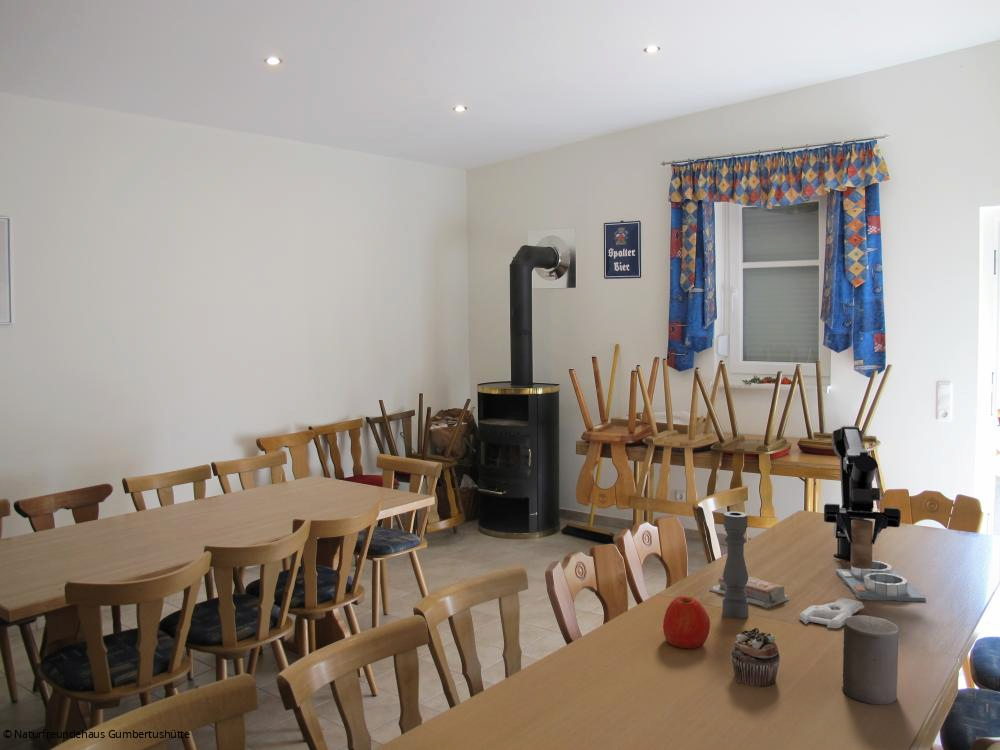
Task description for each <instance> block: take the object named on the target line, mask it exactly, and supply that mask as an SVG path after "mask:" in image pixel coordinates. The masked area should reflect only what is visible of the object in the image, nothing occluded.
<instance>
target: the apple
mask: <svg viewBox="0 0 1000 750" xmlns="http://www.w3.org/2000/svg"><path fill="white" fill-rule="evenodd" d="M662 628H663V629H662V630H663V631H662V632H663V635H664V637H665V640H666V641H667V642H668V643H669V644H670V645H671V646H674V647H678V648H682V649H695V648H699V647H700V646H703V645H704V644H705V642H706V641H707V639H708V637H709V634H710V629H711V620H710V617H709V614H708V612H707V611H706V609H705V607H704V606H703V604H701V602H700V601H699V600H697V599H696V598H693V597H689V596H677V597H676V598H673V599H672V600H671V602H670V603H669V604H668V606H667V608H666V610H665V614H664V616H663V623H662Z"/></svg>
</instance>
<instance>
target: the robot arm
mask: <svg viewBox="0 0 1000 750" xmlns="http://www.w3.org/2000/svg"><path fill="white" fill-rule="evenodd" d="M830 439H831V441H830V443H831V446H833V451H834V452H833V453H834V454H835V455H836V457H837V459H839V470H840V473H839V474H840V492H841V493H840V494H841V506H840V503H828V502H827V503H825V504H824V506H823V522H825V523H830V524H831V523H833V536H834V537H835V539H836V540H837V543H836V544H837V547H836V548H837V552H836V553H833V557H837V558H839V559H841V560H842V559H843V560H846V561H848V562H849V561H850V562H851V520H853V519H865V520H874V523H873V540H872V545H875V544H876V541H877V539H878V537H879V535H880V533H881V532H882V530H886V529H888V528H899V527H900V525H901V518H902V517H901V516H902V514H901V509H899V507H888V506H887V507H886V506H884V507H883V511H874V508H875V506H874V504H875V503H874V502H875V501H876V502H879V501H880V499H881V488H879V487H873V481H874V479H875V476H876V475H875V474H876V471H877V469H878V468H879V466H878V465H879V464H878V462H877V460H876V459H875V458H874V457H872V455H871V453H870V452H869V450H867V449H864V446H863V442H864V441H863V439H864V438H863V431H862V430H860V427H859V426H857V425H843V426H841V427H840V428H838V429H835V430H833V431H832V433H831V438H830Z"/></svg>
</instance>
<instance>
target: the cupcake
mask: <svg viewBox="0 0 1000 750" xmlns="http://www.w3.org/2000/svg"><path fill="white" fill-rule="evenodd" d="M736 639H737V640H735V641H734V646H733V648H732V649H731V650H730V655H729V656H730V657H731V662H732V667H733V673H734V679H736V681H737V682H738V683H742V684H744V685H746V686H749V687H755V688H766V687H767V688H768V687H770V686H772V685H774V684H775V683H776V680H777V675H778V670H779V665H780V662H781V657H780V651H779V648H778V645H777V643H776V642H775V641H776V638H775V635H774V634H771V633H770V632H769V633H768V632H760V630H759V628H757V627H755V628H753V629H751V630H742V631H741V630H740V633H739V634H736Z"/></svg>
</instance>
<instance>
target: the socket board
mask: <svg viewBox="0 0 1000 750" xmlns="http://www.w3.org/2000/svg"><path fill="white" fill-rule="evenodd" d="M835 573H836V575H839V576H840V577H841V578H842V579H841V578H840V577H839V576H838V577H839V578H840V579H841V580H842V582H844V584H845V583H846V584H847V585H848V586H849V587H850V588H851V589H850V588H849V587H848V586H847V585H846V584H845V585H846V586H847V587H848V588H849V589H850V591H851V592H852V591H853V592H854V593H855V594H856V595H857V596H858V597H857V596H856V595H855V594H854V593H853V592H852V593H853V594H854V595H855V596H856V597H857V598H858V600H859V599H867V600H866V601H887V600H897V601H896V602H918V601H921V602H925V603H926V601H927V600H926V596H924V595H923V594H922V593H921V591H919V590H918V589H916V588H915V587H914V586H913V585H912V584H911V583H910V582H909V581H908V580H907V579H906V578H905V577H903V576H902V575H901V574H899V573H898V571H896V570H893V566H891V565H890V564H889V563H886V562H884V561H883V562H882V561H879V560H873V559H872V568H870V569H859V568H855V567H852V566H851V565H850V569H848V568H847V569H846V568H845V569H844V568H840V569H839V568H835ZM921 602H920V603H921Z"/></svg>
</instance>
